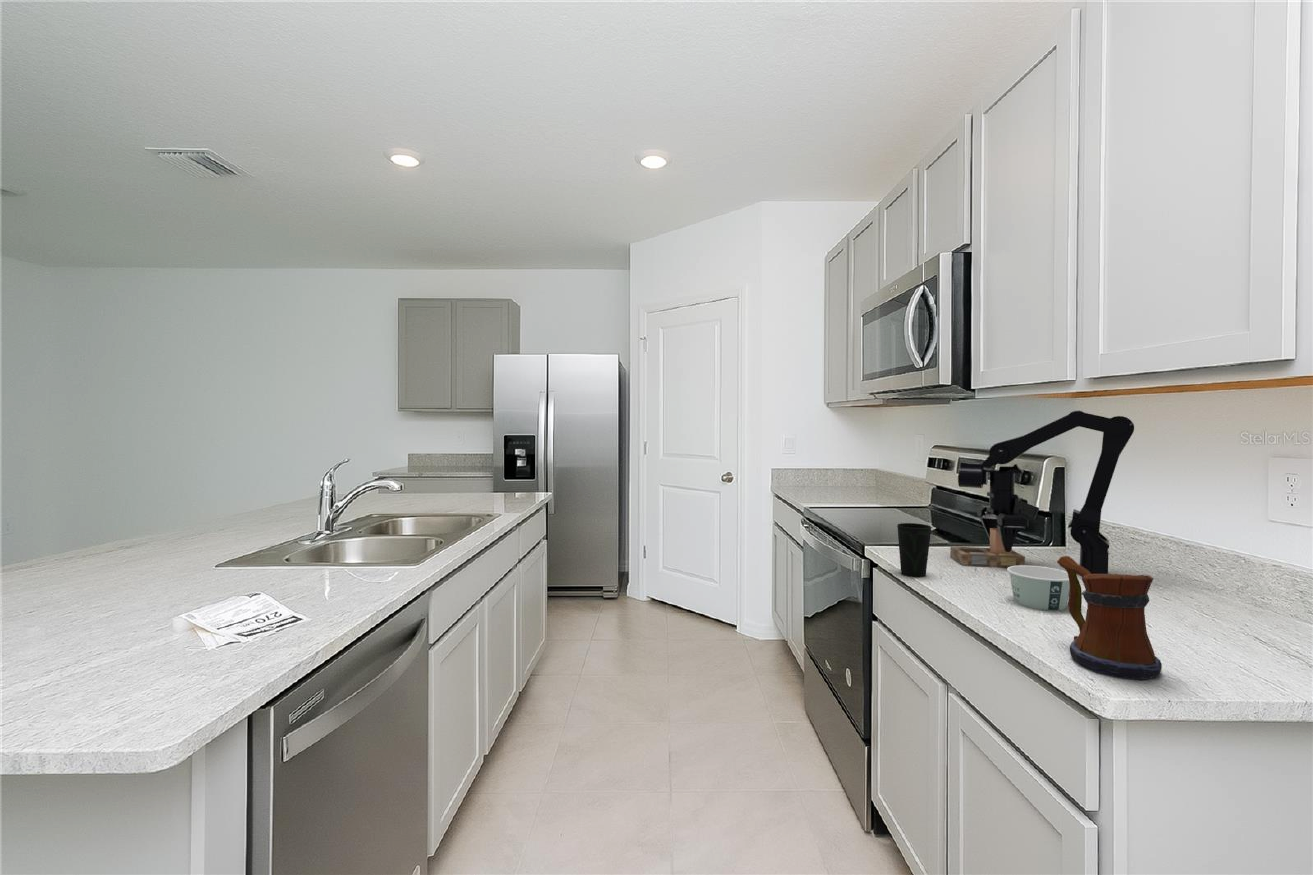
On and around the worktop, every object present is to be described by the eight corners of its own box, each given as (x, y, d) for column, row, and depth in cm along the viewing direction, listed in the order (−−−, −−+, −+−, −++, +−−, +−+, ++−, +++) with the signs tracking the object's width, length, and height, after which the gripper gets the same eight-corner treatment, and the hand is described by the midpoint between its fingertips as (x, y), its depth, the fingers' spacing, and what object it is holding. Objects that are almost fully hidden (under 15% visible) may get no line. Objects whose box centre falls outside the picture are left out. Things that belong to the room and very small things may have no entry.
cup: (889, 572, 151) (890, 524, 150) (912, 569, 154) (913, 522, 153) (913, 579, 144) (914, 529, 143) (937, 576, 147) (938, 527, 146)
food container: (996, 594, 132) (996, 564, 132) (1054, 596, 131) (1055, 566, 131) (1023, 611, 120) (1024, 578, 120) (1088, 613, 119) (1088, 580, 119)
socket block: (1025, 568, 155) (1025, 556, 155) (962, 565, 158) (962, 553, 158) (1008, 559, 166) (1009, 547, 165) (950, 557, 168) (950, 545, 168)
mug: (1028, 637, 106) (1030, 551, 105) (1094, 637, 106) (1096, 552, 105) (1103, 681, 88) (1106, 578, 87) (1183, 682, 88) (1186, 579, 87)
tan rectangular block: (1011, 565, 159) (1012, 531, 159) (995, 564, 160) (995, 530, 159) (1005, 561, 163) (1006, 528, 163) (989, 561, 163) (990, 528, 163)
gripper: (1052, 494, 150) (1050, 557, 151) (1019, 486, 169) (1018, 542, 169) (1003, 493, 152) (1002, 555, 152) (976, 485, 170) (975, 540, 171)
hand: (1000, 548), depth 161 cm, fingers open, 9 cm apart
